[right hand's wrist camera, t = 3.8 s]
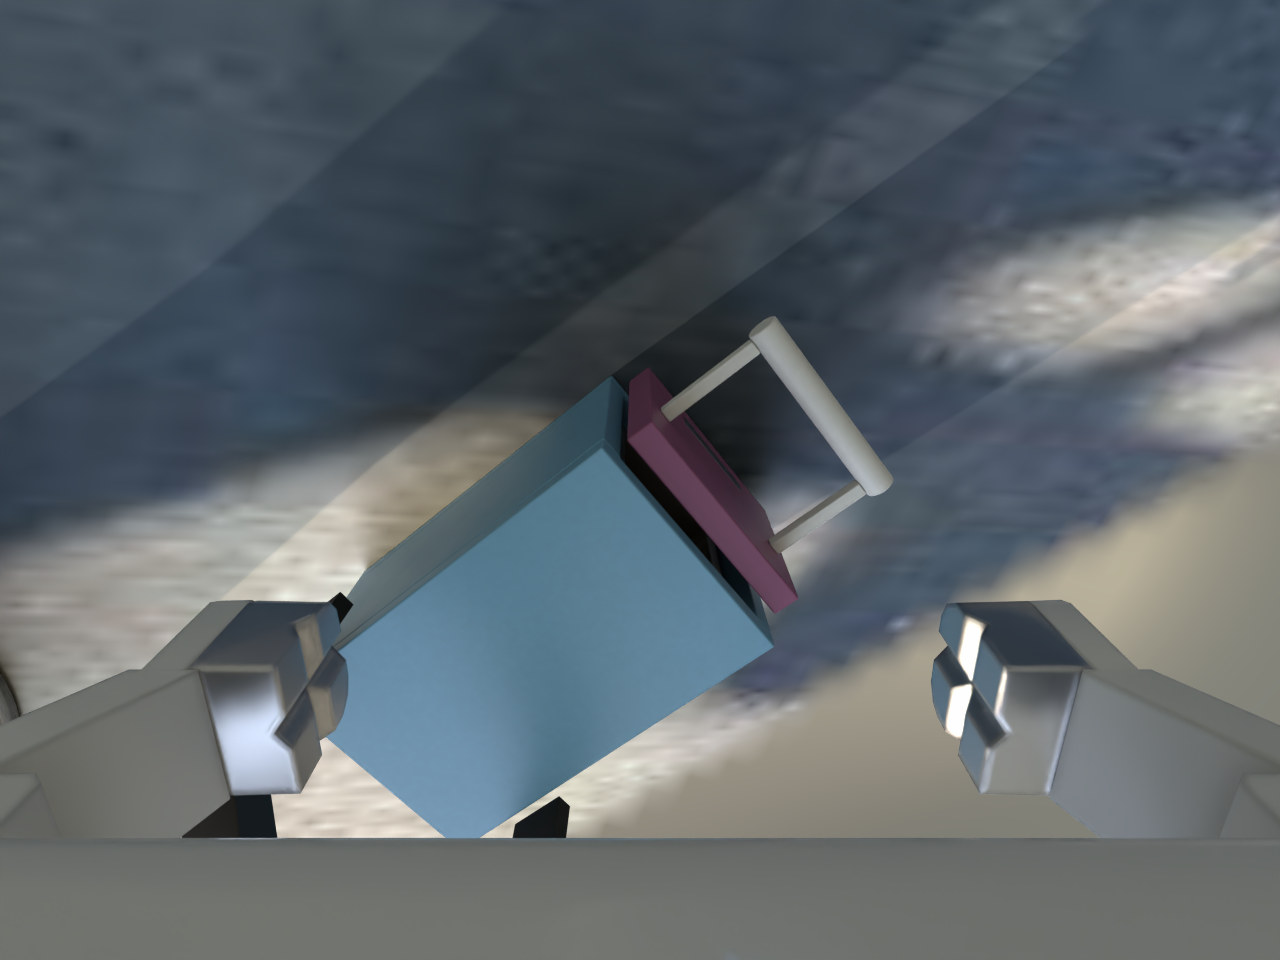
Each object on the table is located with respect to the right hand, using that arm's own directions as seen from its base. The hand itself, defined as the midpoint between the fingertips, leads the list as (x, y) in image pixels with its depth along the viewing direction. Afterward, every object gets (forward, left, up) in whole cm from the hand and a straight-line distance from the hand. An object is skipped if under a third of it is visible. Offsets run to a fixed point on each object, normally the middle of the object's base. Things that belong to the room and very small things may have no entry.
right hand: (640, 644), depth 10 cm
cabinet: (+11, +8, -28) cm, 31 cm away
